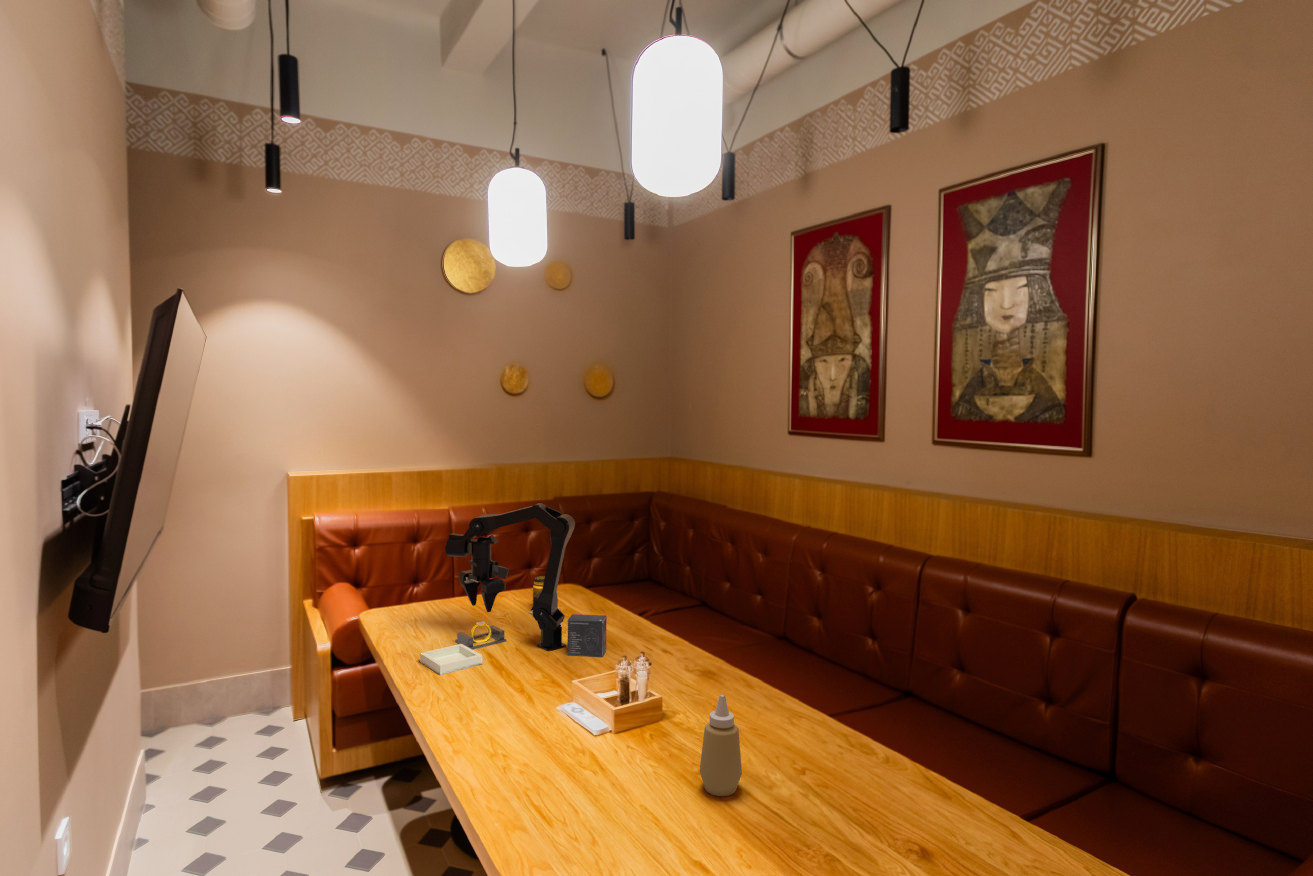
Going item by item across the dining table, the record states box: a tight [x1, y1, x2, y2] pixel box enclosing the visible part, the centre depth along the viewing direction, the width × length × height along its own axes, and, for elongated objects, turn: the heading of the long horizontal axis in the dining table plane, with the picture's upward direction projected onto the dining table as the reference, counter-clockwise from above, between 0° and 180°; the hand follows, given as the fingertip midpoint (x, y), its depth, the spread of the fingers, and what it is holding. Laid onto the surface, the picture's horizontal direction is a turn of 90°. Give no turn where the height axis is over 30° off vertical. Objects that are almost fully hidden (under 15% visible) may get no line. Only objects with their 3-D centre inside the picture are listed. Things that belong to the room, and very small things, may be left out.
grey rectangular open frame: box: [454, 624, 507, 650], centre depth 217 cm, size 9×12×3 cm
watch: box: [470, 621, 491, 644], centre depth 217 cm, size 6×3×6 cm, turn 120°
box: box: [566, 613, 608, 658], centre depth 209 cm, size 11×7×10 cm, turn 84°
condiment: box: [528, 575, 545, 615], centre depth 250 cm, size 7×8×12 cm
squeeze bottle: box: [699, 694, 743, 797], centre depth 136 cm, size 8×8×18 cm
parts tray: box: [419, 643, 483, 676], centre depth 199 cm, size 12×12×2 cm
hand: (481, 608), depth 217 cm, fingers open, 9 cm apart
